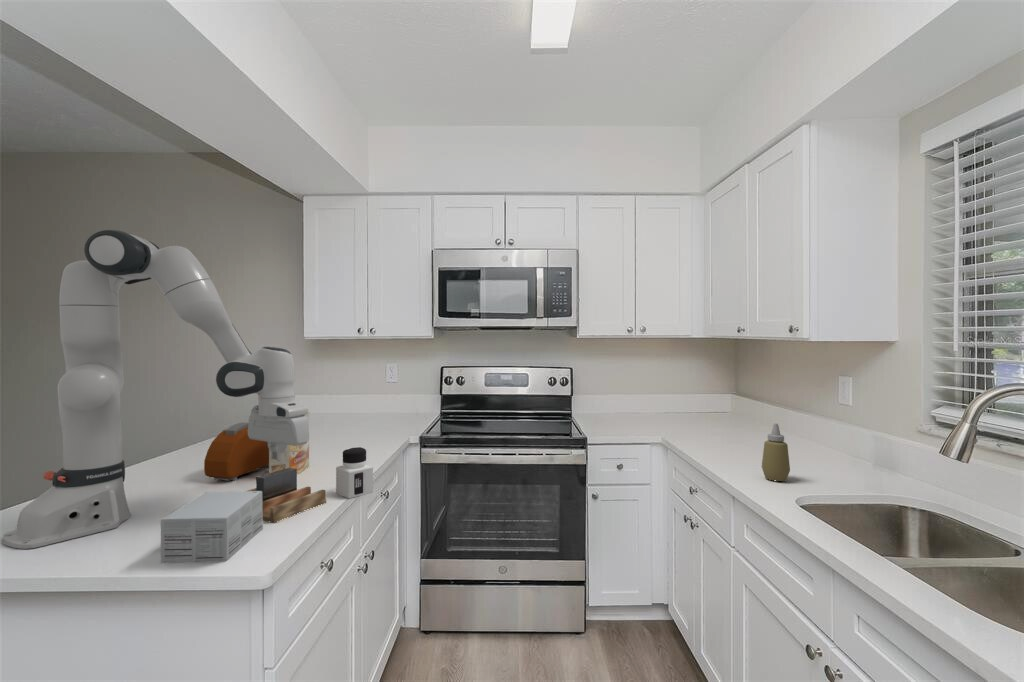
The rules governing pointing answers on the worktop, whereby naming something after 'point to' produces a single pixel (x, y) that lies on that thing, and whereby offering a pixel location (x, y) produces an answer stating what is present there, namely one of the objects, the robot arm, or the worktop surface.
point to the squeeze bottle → (775, 456)
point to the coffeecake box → (292, 458)
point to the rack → (291, 503)
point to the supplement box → (211, 527)
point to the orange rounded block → (235, 454)
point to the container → (354, 474)
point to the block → (277, 483)
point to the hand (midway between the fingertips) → (277, 458)
